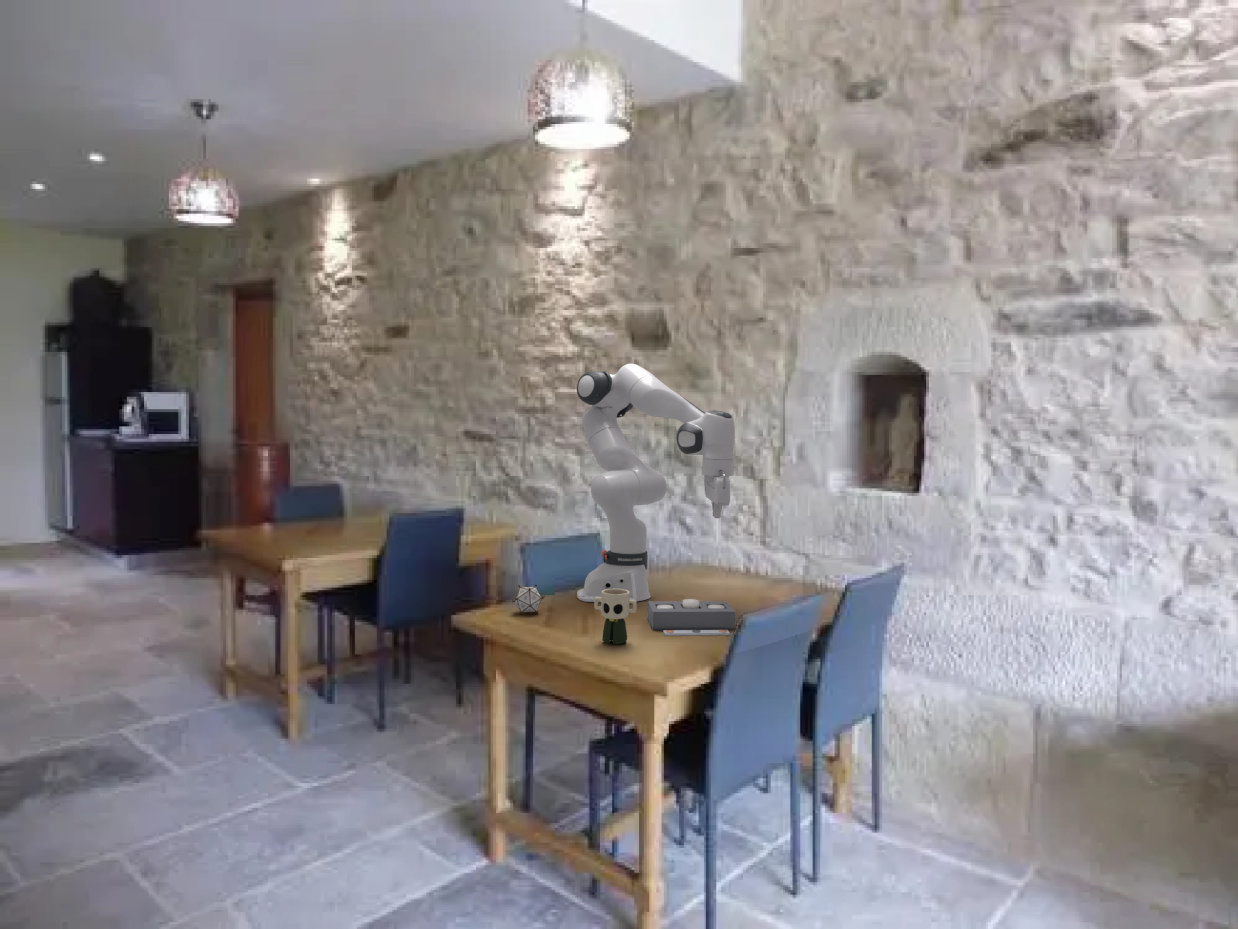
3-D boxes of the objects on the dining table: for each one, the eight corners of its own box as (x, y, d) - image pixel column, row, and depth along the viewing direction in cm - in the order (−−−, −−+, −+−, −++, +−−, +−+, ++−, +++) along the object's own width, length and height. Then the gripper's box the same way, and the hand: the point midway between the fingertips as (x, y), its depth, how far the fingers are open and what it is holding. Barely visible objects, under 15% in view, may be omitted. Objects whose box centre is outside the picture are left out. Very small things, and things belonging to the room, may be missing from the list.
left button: (657, 619, 239) (658, 608, 239) (655, 615, 244) (656, 604, 243) (674, 619, 240) (674, 608, 240) (671, 615, 244) (671, 604, 244)
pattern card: (664, 635, 231) (664, 632, 231) (663, 632, 234) (663, 629, 234) (729, 635, 232) (729, 632, 232) (727, 632, 235) (727, 629, 235)
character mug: (589, 644, 222) (590, 592, 221) (597, 637, 229) (598, 586, 228) (632, 648, 219) (633, 596, 218) (639, 640, 226) (640, 590, 225)
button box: (652, 630, 236) (653, 611, 235) (647, 619, 247) (647, 601, 247) (735, 630, 238) (735, 611, 237) (725, 618, 249) (726, 601, 249)
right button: (709, 619, 241) (709, 608, 240) (706, 615, 245) (706, 604, 245) (725, 619, 241) (725, 608, 241) (722, 615, 245) (722, 604, 245)
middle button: (683, 613, 240) (684, 602, 240) (681, 609, 244) (681, 599, 244) (700, 613, 240) (700, 602, 240) (697, 609, 245) (697, 598, 244)
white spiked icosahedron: (520, 626, 252) (500, 597, 252) (542, 611, 257) (523, 582, 258) (533, 617, 245) (512, 587, 246) (555, 602, 250) (535, 572, 251)
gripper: (736, 472, 241) (734, 523, 242) (722, 465, 261) (721, 512, 262) (713, 472, 240) (711, 523, 242) (701, 465, 261) (699, 512, 262)
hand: (716, 517), depth 252 cm, fingers closed
